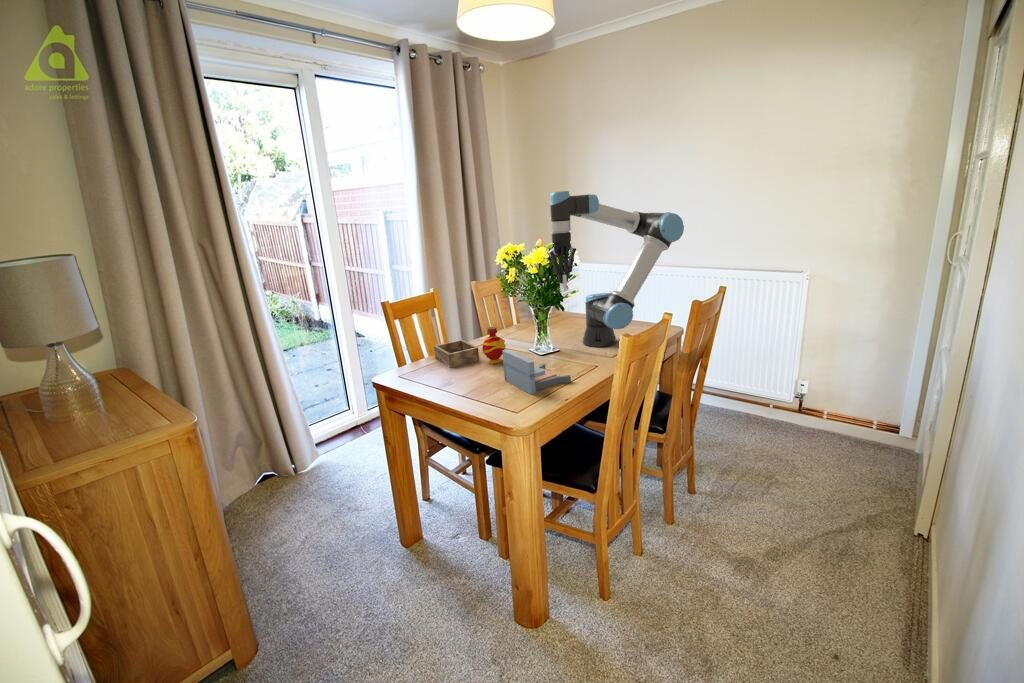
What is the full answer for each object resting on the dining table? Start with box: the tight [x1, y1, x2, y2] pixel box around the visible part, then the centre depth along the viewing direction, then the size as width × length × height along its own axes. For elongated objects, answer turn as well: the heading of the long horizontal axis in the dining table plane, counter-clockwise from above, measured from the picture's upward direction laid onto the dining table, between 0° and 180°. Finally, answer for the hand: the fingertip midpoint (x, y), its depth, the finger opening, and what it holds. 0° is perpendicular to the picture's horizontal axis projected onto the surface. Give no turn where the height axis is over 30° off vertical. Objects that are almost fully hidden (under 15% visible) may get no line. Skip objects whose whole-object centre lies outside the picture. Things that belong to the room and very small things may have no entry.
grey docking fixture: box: [502, 348, 572, 396], centre depth 179 cm, size 18×19×12 cm
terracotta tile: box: [535, 368, 558, 382], centre depth 180 cm, size 12×9×3 cm
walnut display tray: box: [433, 339, 480, 369], centre depth 212 cm, size 14×17×6 cm
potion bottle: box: [482, 326, 507, 364], centre depth 205 cm, size 10×10×15 cm
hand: (563, 290), depth 195 cm, fingers closed
